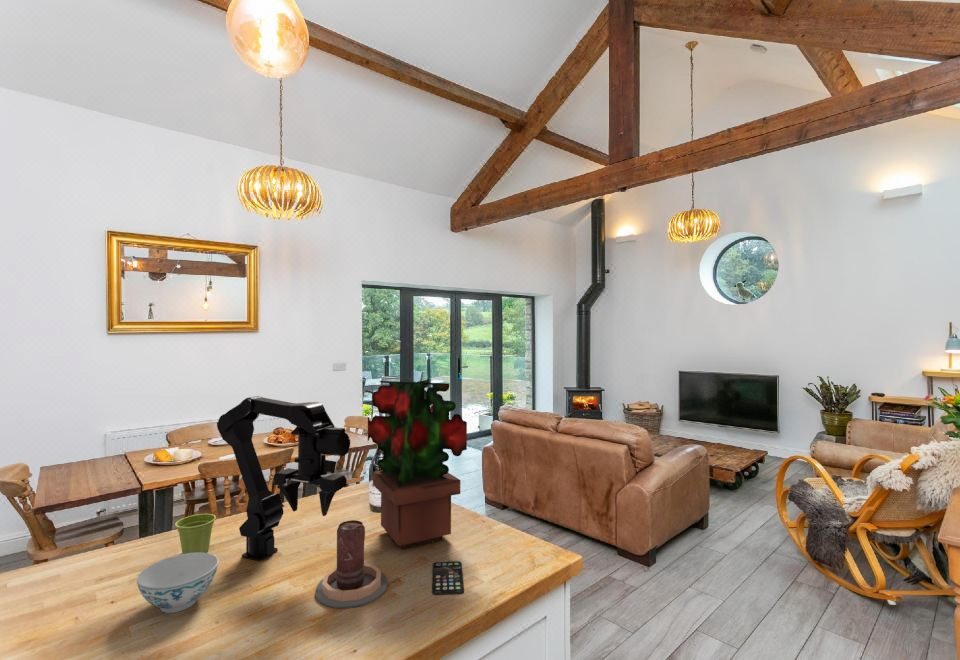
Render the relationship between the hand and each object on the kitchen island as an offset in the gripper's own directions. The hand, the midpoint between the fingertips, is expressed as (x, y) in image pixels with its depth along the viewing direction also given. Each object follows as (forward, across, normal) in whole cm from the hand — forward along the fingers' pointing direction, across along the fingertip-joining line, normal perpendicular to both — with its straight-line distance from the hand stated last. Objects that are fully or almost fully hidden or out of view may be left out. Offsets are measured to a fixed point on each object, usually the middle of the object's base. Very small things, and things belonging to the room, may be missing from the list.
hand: (309, 513), depth 120 cm
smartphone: (+14, -36, -6) cm, 39 cm away
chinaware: (+13, +15, +24) cm, 31 cm away
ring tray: (+13, -17, +6) cm, 22 cm away
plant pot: (+13, +33, +5) cm, 36 cm away
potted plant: (+13, -18, -24) cm, 33 cm away
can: (+12, -17, +6) cm, 22 cm away
